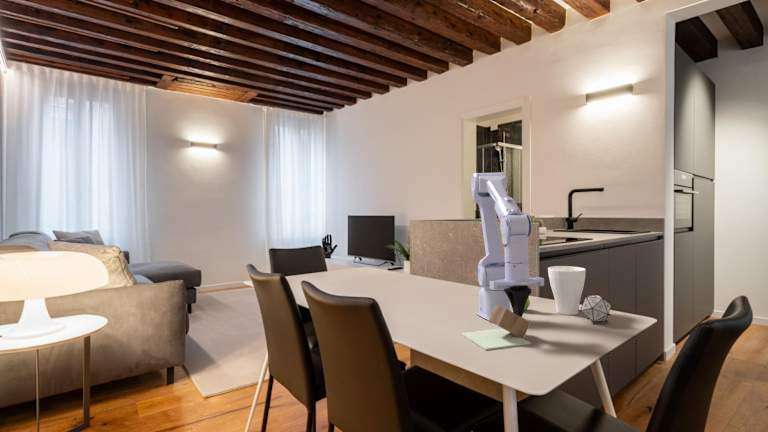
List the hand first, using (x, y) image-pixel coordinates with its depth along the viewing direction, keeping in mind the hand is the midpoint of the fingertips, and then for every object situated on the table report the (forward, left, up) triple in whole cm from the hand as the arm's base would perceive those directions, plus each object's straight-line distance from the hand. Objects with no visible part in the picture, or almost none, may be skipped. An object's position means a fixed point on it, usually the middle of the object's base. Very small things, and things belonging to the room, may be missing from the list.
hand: (518, 316), depth 97 cm
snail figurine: (-21, +16, -5) cm, 27 cm away
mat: (0, -7, -5) cm, 8 cm away
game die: (-3, +27, -5) cm, 28 cm away
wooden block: (0, +1, -3) cm, 3 cm away
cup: (-14, +27, -5) cm, 31 cm away
